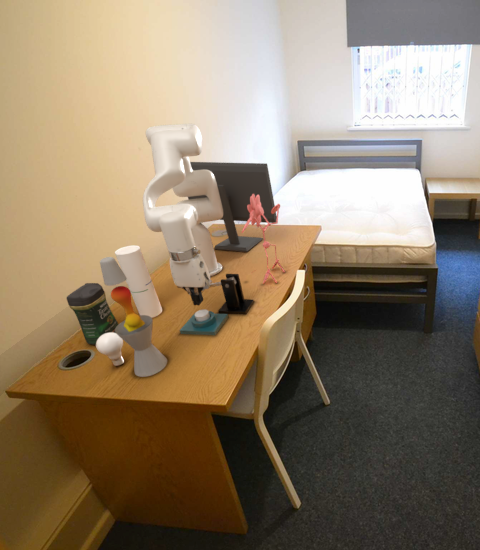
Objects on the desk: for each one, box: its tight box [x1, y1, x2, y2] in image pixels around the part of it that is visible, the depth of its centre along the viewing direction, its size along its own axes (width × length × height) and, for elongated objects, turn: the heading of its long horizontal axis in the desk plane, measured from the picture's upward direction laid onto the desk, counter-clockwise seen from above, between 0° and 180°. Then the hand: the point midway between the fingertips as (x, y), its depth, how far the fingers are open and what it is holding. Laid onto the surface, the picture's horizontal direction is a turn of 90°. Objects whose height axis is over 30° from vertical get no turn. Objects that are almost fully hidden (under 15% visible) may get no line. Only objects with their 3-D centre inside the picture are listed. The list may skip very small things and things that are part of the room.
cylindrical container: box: [114, 244, 163, 319], centre depth 125 cm, size 7×7×25 cm
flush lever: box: [201, 277, 237, 294], centre depth 128 cm, size 12×7×2 cm, turn 85°
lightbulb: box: [95, 332, 125, 367], centre depth 105 cm, size 6×6×11 cm
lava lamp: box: [99, 256, 168, 378], centre depth 98 cm, size 9×9×35 cm
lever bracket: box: [217, 273, 255, 316], centre depth 129 cm, size 10×8×13 cm
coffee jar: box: [66, 282, 119, 346], centre depth 115 cm, size 10×8×19 cm
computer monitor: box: [187, 161, 279, 253], centre depth 172 cm, size 44×16×40 cm, turn 77°
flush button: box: [194, 308, 210, 322], centre depth 121 cm, size 4×4×2 cm
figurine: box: [241, 194, 286, 285], centre depth 144 cm, size 15×26×35 cm, turn 171°
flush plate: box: [179, 310, 229, 336], centre depth 122 cm, size 12×10×4 cm
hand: (198, 302), depth 119 cm, fingers closed
